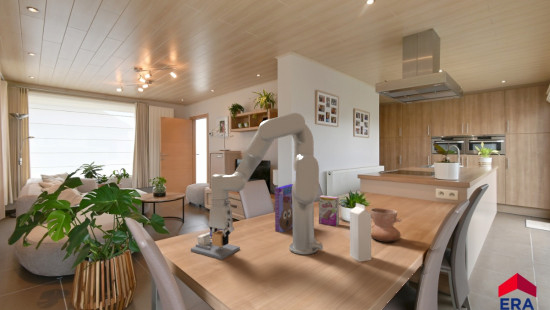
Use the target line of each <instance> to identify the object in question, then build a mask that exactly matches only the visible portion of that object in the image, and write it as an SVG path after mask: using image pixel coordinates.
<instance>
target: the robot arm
mask: <svg viewBox="0 0 550 310" xmlns="http://www.w3.org/2000/svg"><path fill="white" fill-rule="evenodd" d="M288 136H292V138H293V141H294V146H293V147H294V148H293V149H294V151H293V152H294V156H293V169H294V171H295V181H294V182H293V183H292V184H293V185H292V208H293V227H292V243H290V245H289V251H290V252H291V253H294V254H297V255H312V254H315V253H316V252H317V251H318V250H324V249H323V248H324V246H323V243H321V242H317V239H316V238H315V206H314V204H315V203H314V202H315V201H316V200H317V198H318V197H319V186H320V185H319V182H320V165H319V162H318V160H317V159H316V157H314V150H315V149H314V136H313V134H312V130H311V129H310V127H309V126H308V125H307V124H306V120H305V117H304V116H303V115H302V114H301V113H298V112H291V113H288V114H284V115H280V116H278V117H274V118H269V119H266V120H263V121H262V122H261V123H260V124H259V126H258V128H257V130H256V132H255V134H254V136H253V137H252V138H251V141H250V142H249V144H248V145H247V147H246V149H245V151H244V152H243V156H242V159H241V161H240V163H239V164H238V166H237V167H236V168H235V169H236V170H235V171H234V172H233V173H232V174H229V175H228V174H226V173H214V174H212V175H211V177H210V190H211V191H210V193H211V194H210V195H211V196H210V198H211V202H210V204H211V205H210V208H209V217H208V218H209V219H208V220H209V221H208V223H207V227H208V229H210V230H211V231H212V232H211V233H214V232H217V231H218V229H222V231H223V237H222V241H223V246H225V245H227V244H229V243H228V235H230V234H231V233H232V232H233V231H235V227H234V225H233V221H234V220H233V211H232V206H231V205H230V204H231V200H230V199H229V198H230V196H229V194H230V192H234V193H235V192H236V193H237V192H241V191H242V190H244V188H245V187H246V185H247V183H248V182H249V180H250V178H251V176H252V175H253V173H254V172H255V170H256V169H257V167H258V165H260V163H261V162H262V161H263V159H264V157H265V156H266V154H267V152H268V150H269V149H270V148H271V146H272V145H273V143H274V142H275V140H277V139H280V138H284V137H288ZM210 230H209V231H210Z"/></svg>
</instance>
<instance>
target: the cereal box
mask: <svg viewBox="0 0 550 310" xmlns="http://www.w3.org/2000/svg"><path fill="white" fill-rule="evenodd" d="M292 185H293V183H289V184H286V185H282V186H278V187H275V188H274V227H275V228H274V230H275V231H274V232H276V233H277V232H278V233H282V234H283V233H285V232H286V231H288V230H290V229H293V208H292Z"/></svg>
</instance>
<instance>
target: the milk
mask: <svg viewBox="0 0 550 310" xmlns="http://www.w3.org/2000/svg"><path fill="white" fill-rule="evenodd" d="M371 227H372V218H371V211H370V212H369V211H368V210H367V209H366V206H365V204H361V203H358V202H356V203H355V207H353V208H351V210H349V256H350V257H351V258H352V259H354V260H355V261H357V262H359V263H360V262H365V261H371V260H372V237H371Z"/></svg>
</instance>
